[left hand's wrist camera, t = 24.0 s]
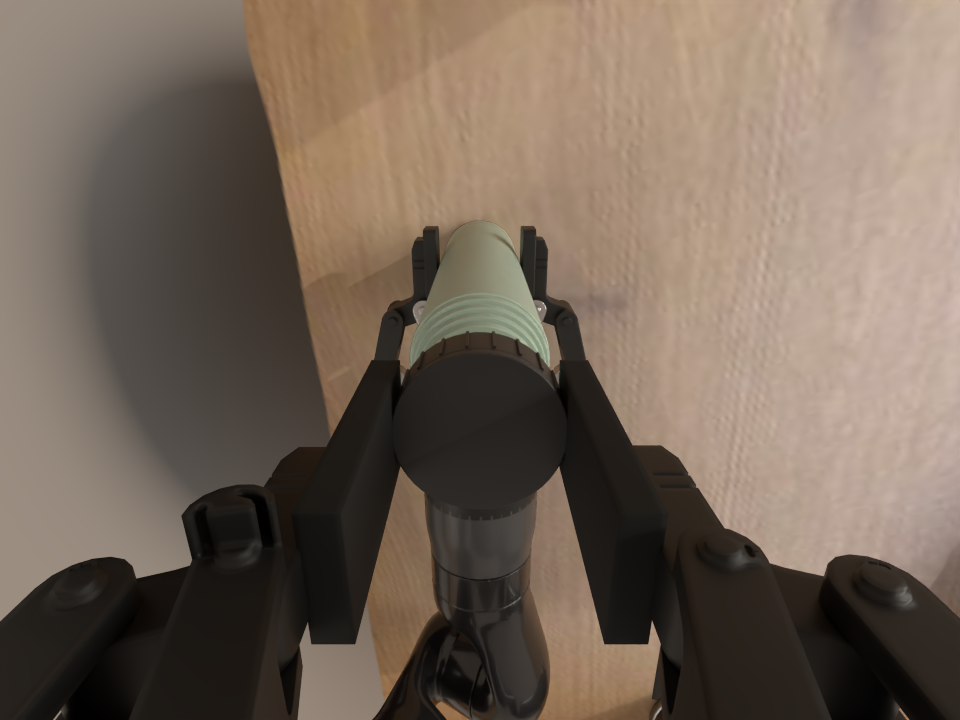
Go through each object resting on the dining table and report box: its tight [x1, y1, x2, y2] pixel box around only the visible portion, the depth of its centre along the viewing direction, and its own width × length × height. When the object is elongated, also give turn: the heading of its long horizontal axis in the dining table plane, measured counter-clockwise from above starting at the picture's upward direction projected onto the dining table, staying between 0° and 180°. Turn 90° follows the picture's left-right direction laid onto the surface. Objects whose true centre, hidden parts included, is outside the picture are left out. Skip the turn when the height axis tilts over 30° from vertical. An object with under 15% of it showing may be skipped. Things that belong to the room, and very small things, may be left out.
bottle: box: [410, 221, 550, 367], centre depth 25 cm, size 5×5×24 cm
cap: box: [392, 331, 567, 509], centre depth 14 cm, size 4×4×2 cm
